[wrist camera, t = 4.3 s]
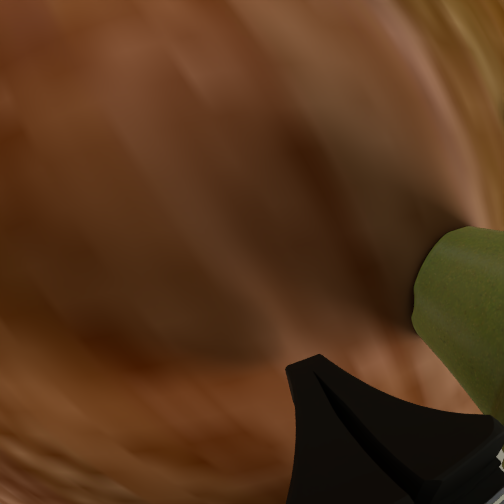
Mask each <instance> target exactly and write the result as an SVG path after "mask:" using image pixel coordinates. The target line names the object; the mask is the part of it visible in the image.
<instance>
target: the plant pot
mask: <svg viewBox="0 0 504 504" xmlns="http://www.w3.org/2000/svg"><path fill="white" fill-rule="evenodd" d="M411 319H412V324H413V327H414V329H415V331H416V333H417V334H418V335H419V336H420V337H421V338H422V339H423V341H424V342H425V343H426V344H427V345H428V346H429V348H430V349H431V350H432V351H433V352H434V353H435V354H436V355H437V356H438V358H439V359H440V360H441V361H442V362H443V364H444V365H445V366H446V367H447V368H448V370H449V371H450V372H451V373H452V374H453V376H454V377H455V378H456V379H457V381H458V382H459V383H460V384H461V386H462V387H463V388H464V390H465V391H466V392H467V393H468V395H469V396H470V397H471V399H472V400H473V401H474V403H475V404H476V405H477V406H478V408H479V409H480V410H481V412H482V413H483V414H484V415H492V416H493V417H494V418H495V419H497V420H498V421H499V422H500V423H501V424H502V425H503V426H504V231H498V230H491V229H485V228H477V227H471V226H467V227H464V228H460V229H457V230H454V231H450V232H448V233H447V234H445V235H444V236H443V237H442V238H441V239H440V240H439V241H438V242H437V243H436V244H435V246H434V247H433V248H432V250H431V251H430V253H429V254H428V256H427V257H426V259H425V261H424V263H423V265H422V267H421V269H420V271H419V273H418V276H417V279H416V281H415V285H414V310H413V314H412V316H411ZM501 449H502V451H503V452H504V445H503V447H502V448H501ZM502 467H503V469H504V459H503V462H502Z"/></svg>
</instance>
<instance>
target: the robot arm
mask: <svg viewBox="0 0 504 504" xmlns="http://www.w3.org/2000/svg"><path fill="white" fill-rule="evenodd" d="M285 370H286V375H287V379H288V383H289V387H290V391H291V395H292V399H293V403H294V405H295V416H296V442H295V455H294V464H293V472H292V478H291V482H290V487H289V492H288V497H287V501H286V504H493V503H494V502H495V501H497V500H498V499H499V498H500V497H501V496H502V495H503V494H504V472H503V471H502V470H501V469H500V468H499V466H500V465H501V461H500V460H498V458H497V457H496V456H497V455H498V453H499V451H500V450H501V448H502V447H503V445H504V426H503V425H502V424H501V423H500V422H499V421H498V420H497V419H495V418H494V417H493V416H492V415H482V414H462V413H454V412H447V411H441V410H437V409H432V408H428V407H424V406H419V405H416V404H413V403H410V402H407V401H404V400H401V399H399V398H396V397H394V396H391V395H389V394H386V393H384V392H382V391H380V390H378V389H376V388H374V387H372V386H370V385H368V384H366V383H364V382H363V381H361V380H359V379H357V378H356V377H354V376H352V375H351V374H349V373H347V372H346V371H344V370H343V369H341V368H340V367H338V366H337V365H335V364H334V363H332V362H331V361H330V360H328V359H327V358H325V357H324V356H323V355H321V354H318V355H315V356H312V357H310V358H307V359H304V360H302V361H299V362H296V363H293V364H291V365H288V366H287V367H286V368H285ZM500 504H504V500H503V501H502V502H501V503H500Z"/></svg>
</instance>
